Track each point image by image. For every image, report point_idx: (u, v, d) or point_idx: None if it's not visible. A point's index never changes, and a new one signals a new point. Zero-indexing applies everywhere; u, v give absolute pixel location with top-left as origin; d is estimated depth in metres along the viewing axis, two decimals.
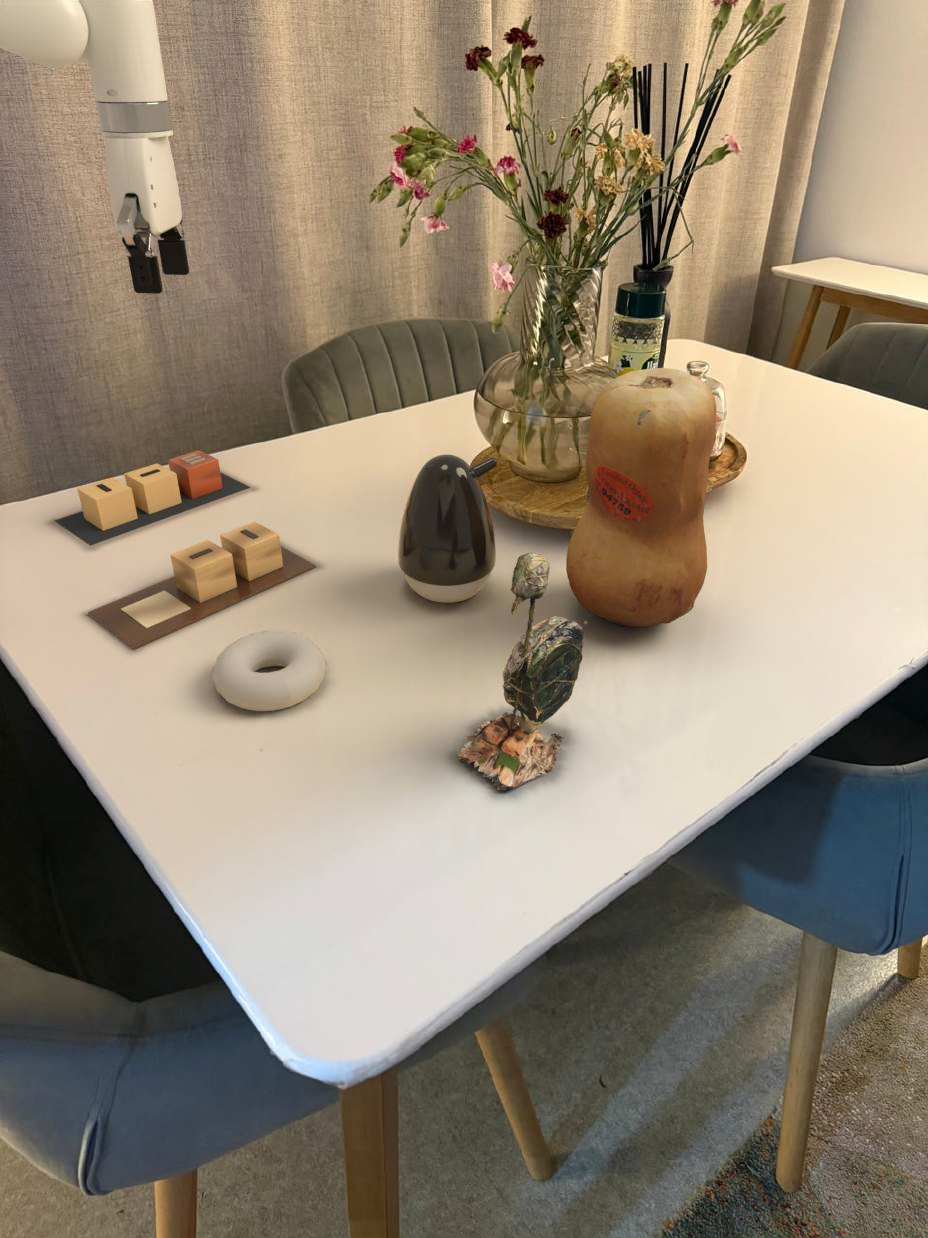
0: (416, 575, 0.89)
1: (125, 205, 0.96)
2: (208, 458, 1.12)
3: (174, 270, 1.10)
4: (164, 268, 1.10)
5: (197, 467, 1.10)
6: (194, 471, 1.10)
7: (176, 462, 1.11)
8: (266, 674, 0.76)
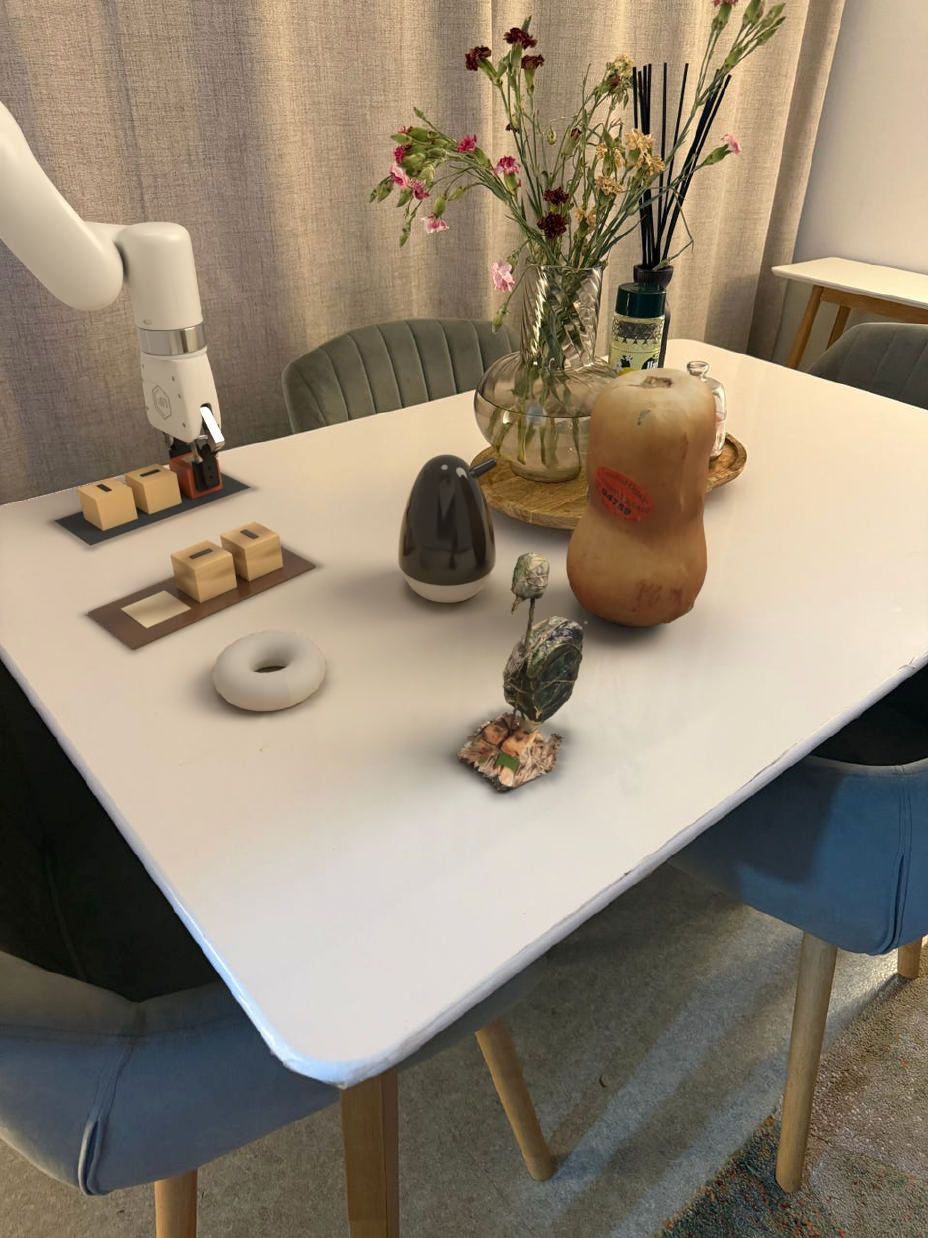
0: (416, 575, 0.89)
1: (209, 424, 1.05)
2: None
3: None
4: None
5: None
6: None
7: (176, 462, 1.11)
8: (266, 674, 0.76)
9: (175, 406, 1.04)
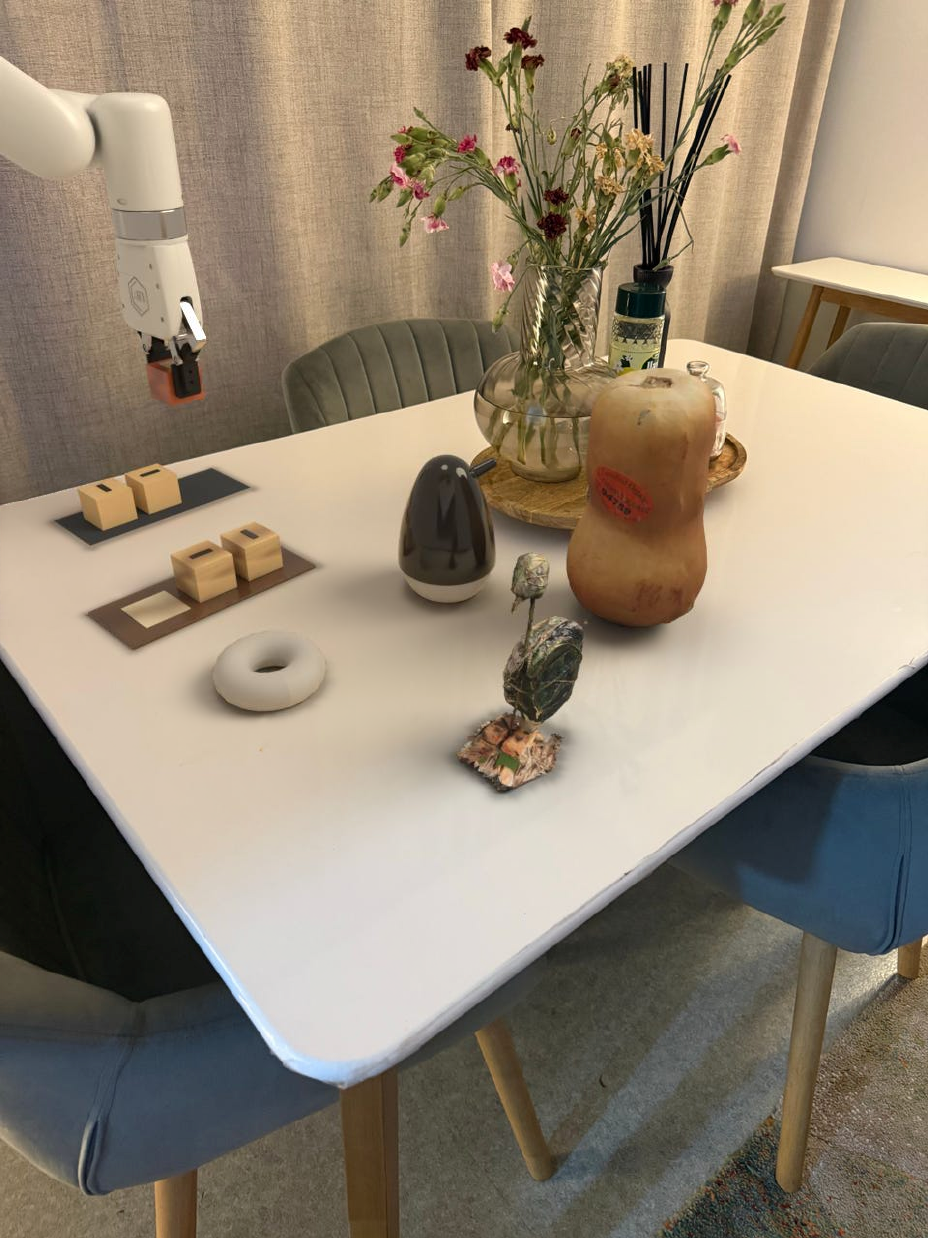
0: (416, 575, 0.89)
1: (189, 319, 0.97)
2: None
3: None
4: None
5: None
6: None
7: (154, 366, 1.03)
8: (266, 674, 0.76)
9: (153, 298, 0.96)
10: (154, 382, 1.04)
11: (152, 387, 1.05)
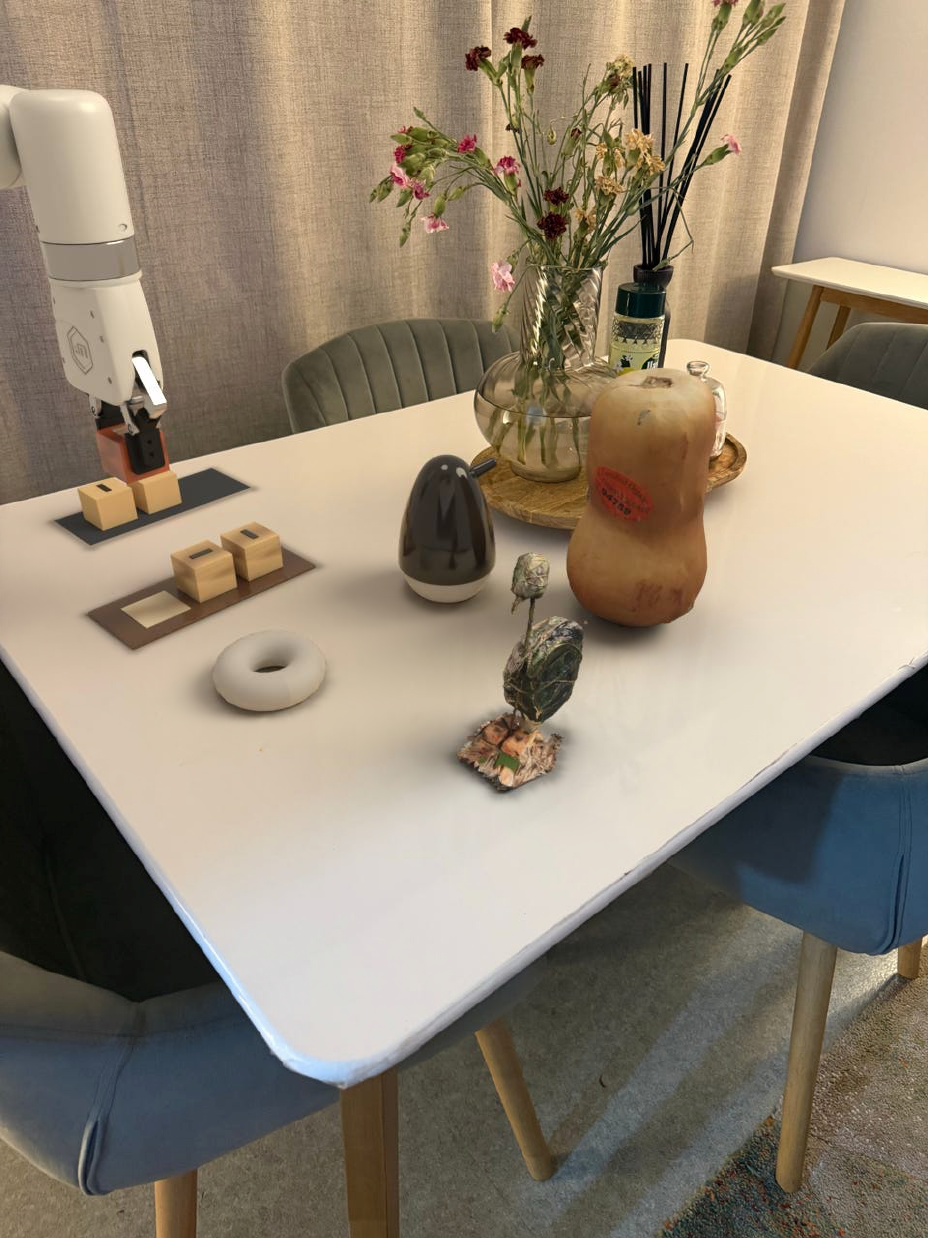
0: (416, 575, 0.89)
1: (145, 379, 0.76)
2: None
3: None
4: None
5: None
6: None
7: (105, 434, 0.82)
8: (266, 674, 0.76)
9: (97, 354, 0.75)
10: (105, 454, 0.83)
11: (104, 459, 0.84)
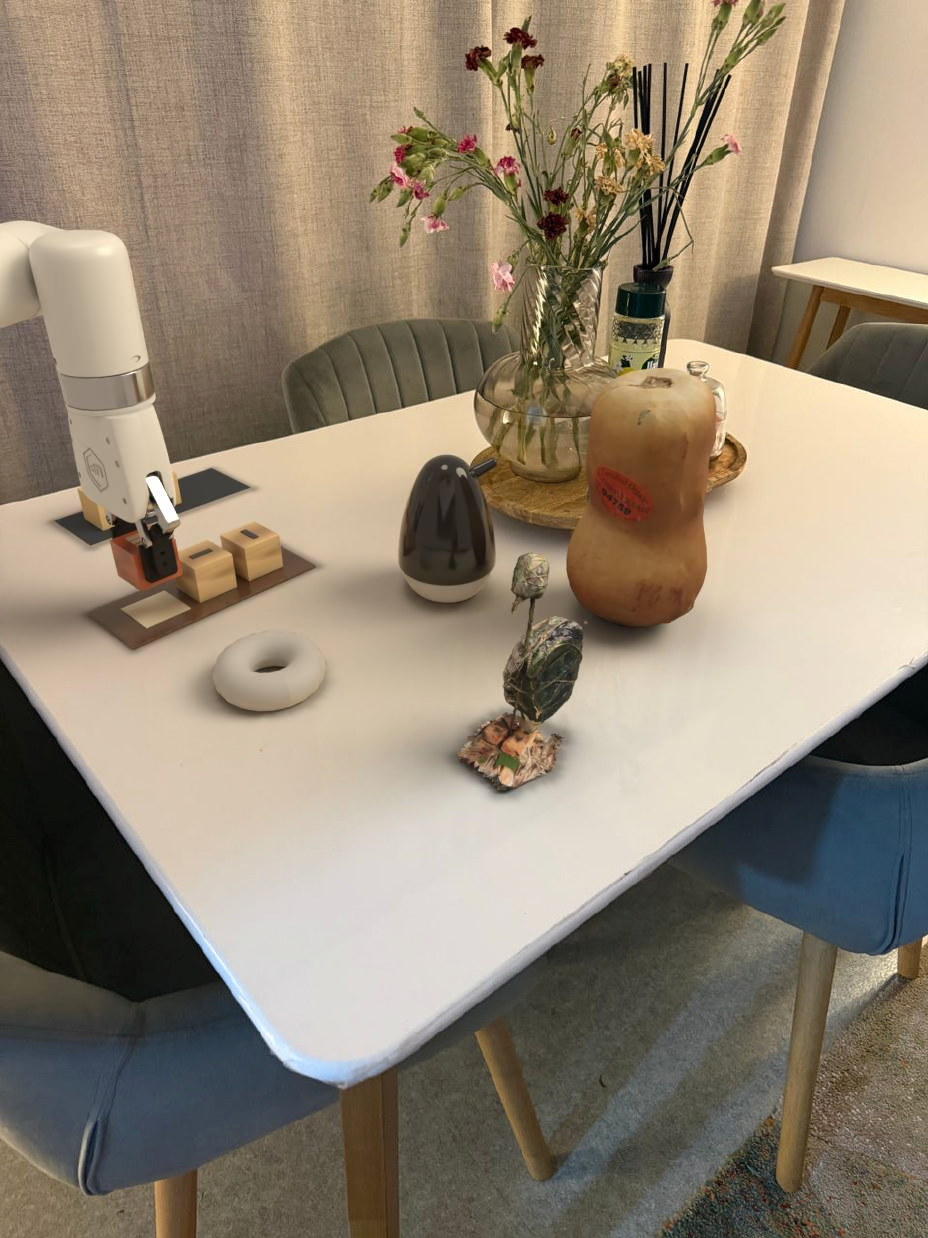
0: (416, 575, 0.89)
1: (159, 499, 0.79)
2: None
3: None
4: None
5: None
6: None
7: (120, 544, 0.85)
8: (266, 674, 0.76)
9: (112, 476, 0.78)
10: (120, 562, 0.86)
11: (118, 566, 0.86)
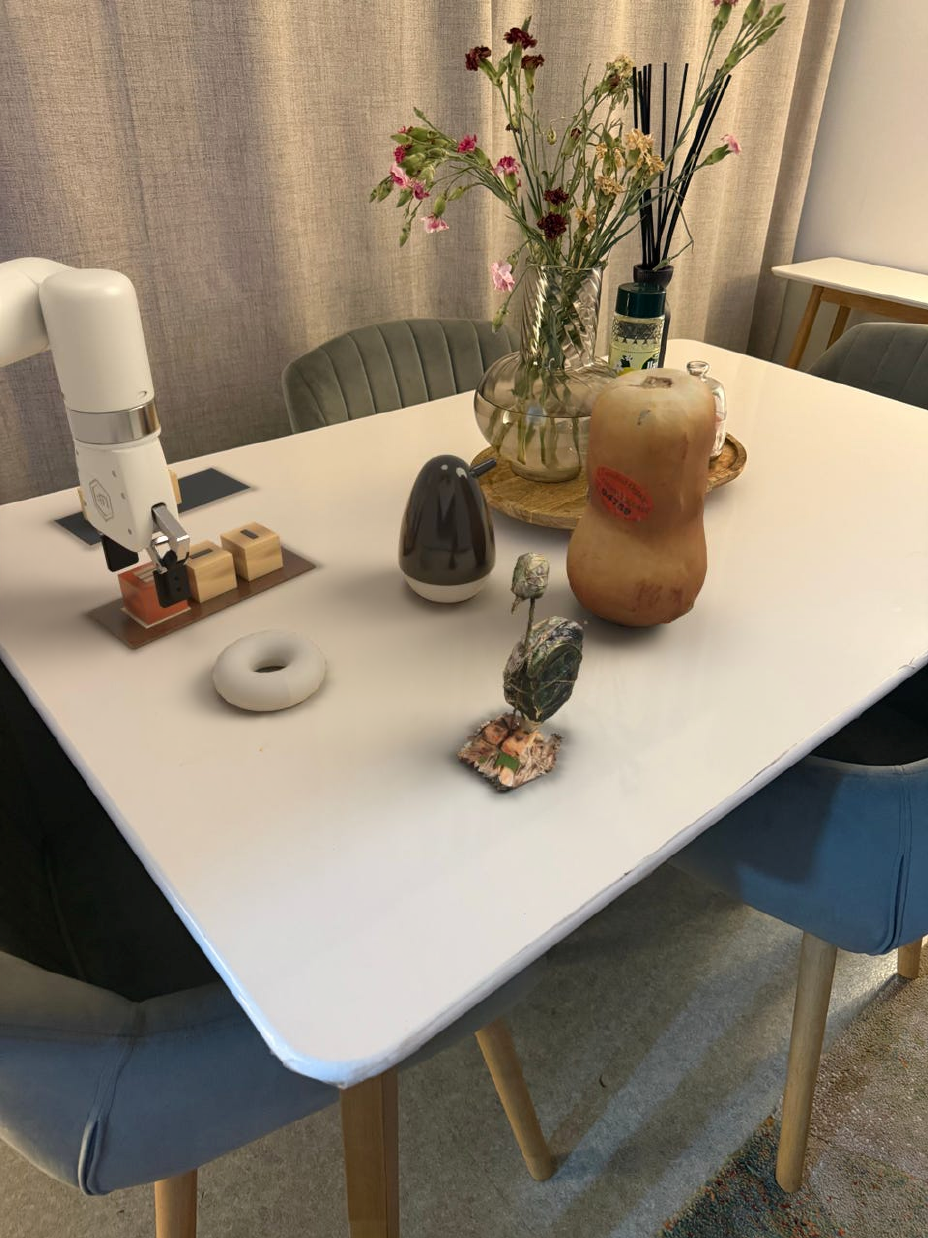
0: (416, 575, 0.89)
1: (165, 520, 0.79)
2: None
3: (125, 563, 0.90)
4: (113, 566, 0.90)
5: (154, 587, 0.86)
6: (150, 591, 0.86)
7: (127, 579, 0.87)
8: (266, 674, 0.76)
9: (118, 507, 0.79)
10: (127, 596, 0.88)
11: (126, 600, 0.88)
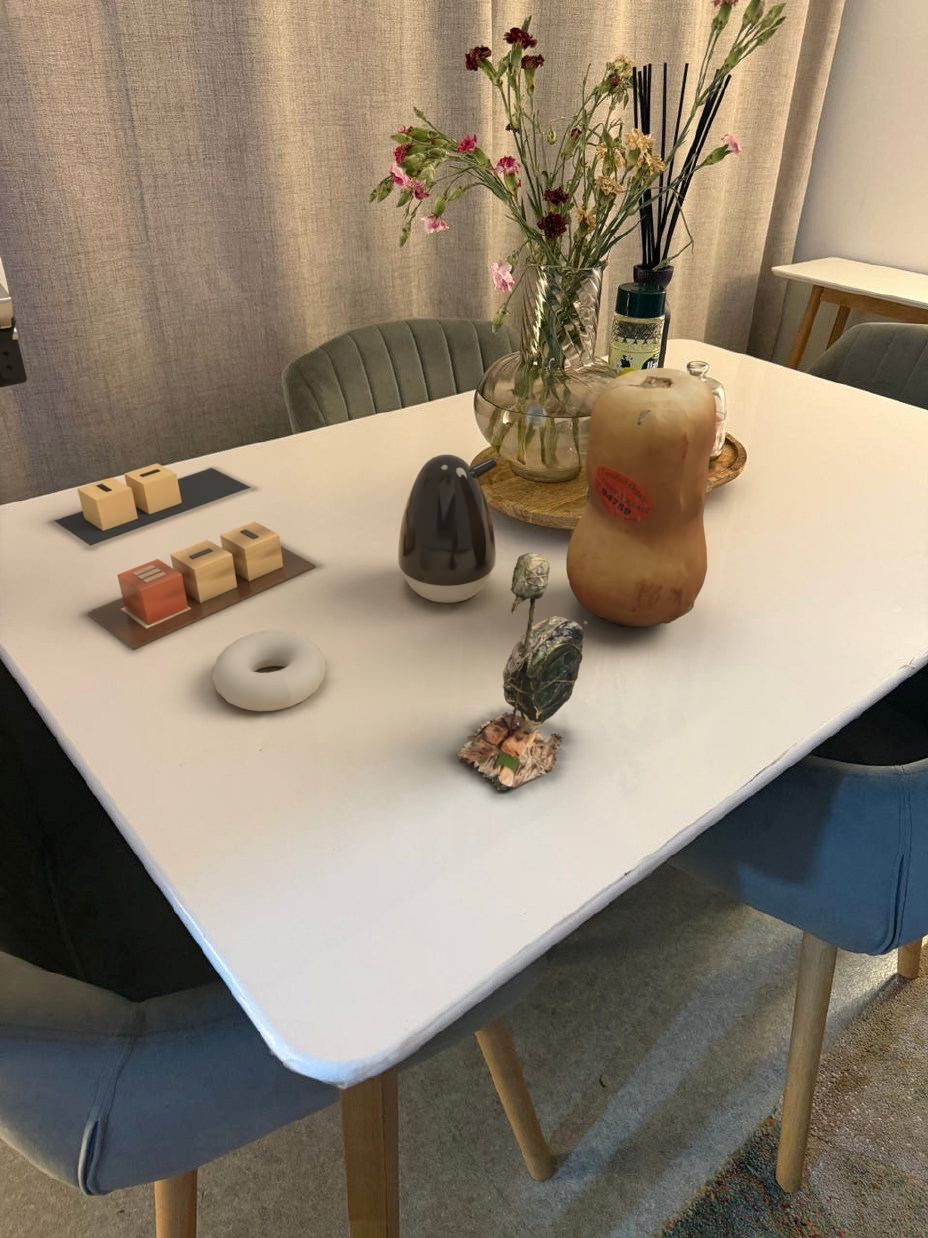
0: (416, 575, 0.89)
1: None
2: (168, 573, 0.88)
3: None
4: None
5: (154, 587, 0.86)
6: (150, 591, 0.86)
7: (127, 579, 0.87)
8: (266, 674, 0.76)
9: None
10: (127, 596, 0.88)
11: (126, 600, 0.88)
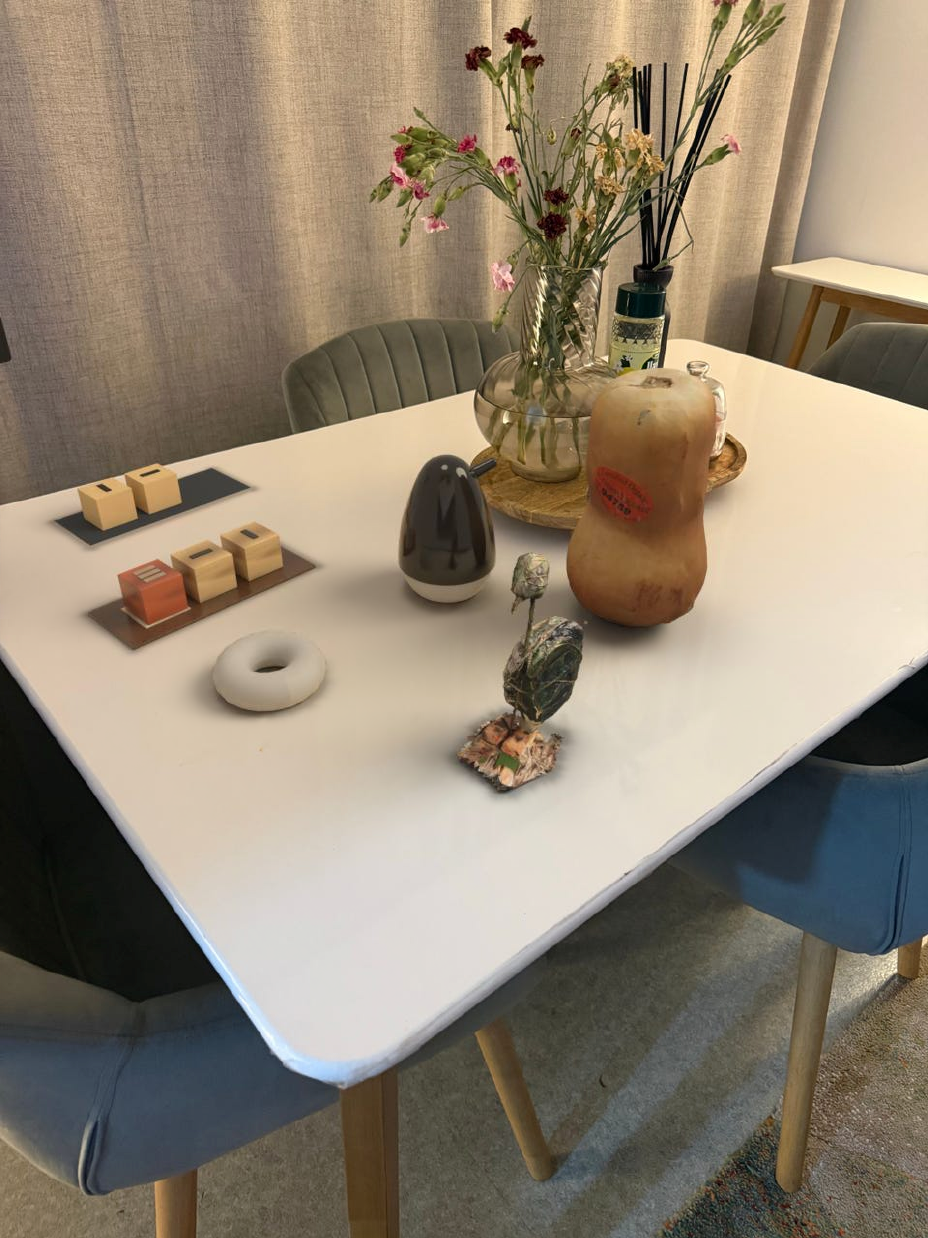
0: (416, 575, 0.89)
1: None
2: (168, 573, 0.88)
3: None
4: None
5: (154, 587, 0.86)
6: (150, 591, 0.86)
7: (127, 579, 0.87)
8: (266, 674, 0.76)
9: None
10: (127, 596, 0.88)
11: (126, 600, 0.88)
